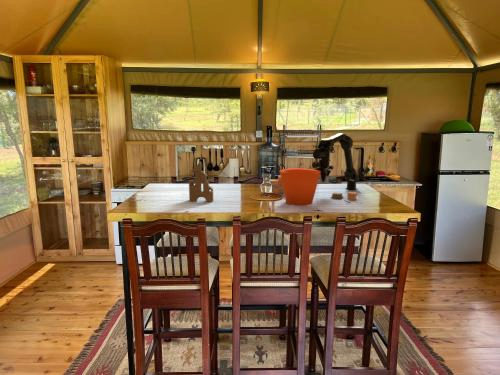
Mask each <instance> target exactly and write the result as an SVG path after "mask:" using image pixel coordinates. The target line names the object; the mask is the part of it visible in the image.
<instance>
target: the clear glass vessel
mask: <svg viewBox="0 0 500 375" xmlns="http://www.w3.org/2000/svg"><path fill="white" fill-rule="evenodd" d="M270 182H271V184H272V192H273V193H277V194H276V195H284V190H283V185H282V180H281V175H277V179H273V178H272V179H271V178H270Z"/></svg>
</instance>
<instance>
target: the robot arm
mask: <svg viewBox="0 0 500 375" xmlns="http://www.w3.org/2000/svg"><path fill="white" fill-rule="evenodd" d="M336 143H339V144H340V148H341V149H342V150H343V152H344V160H345V162H344V163H345V168H346V169H345V171H344V172H343V174H344V180H345V181H347V184H346V187H345V190H349V189H350V190H349V191H355V189H356V190H358V188H357V182H358V183H359V181H360V177H359V175H358V173H357V170H356V169H355V168H354V162H353V155H352V148H353V146H354V139H353V138H352V137H350V136H349V135H347V134H346V133H344V132H338V133H337V134H335V135H332V136H330V137H328V138H321V139H320V141H319V143H318V145H317V147H316V148H315V150H313V152H312V157H313V159H314V160H319V161H312V164H311V167H312V169H315V170H319V171H321V173H320V176H321V179H322V182H324V180H325V178H326V176H330V174H331V172H332V170H334V165H332V164H330V162H331V159H330V158H331V151H333V150H332V149H331V148H332V147H333V146H334V144H336Z"/></svg>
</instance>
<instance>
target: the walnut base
mask: <svg viewBox="0 0 500 375" xmlns="http://www.w3.org/2000/svg"><path fill="white" fill-rule="evenodd" d="M343 198H344V196H343V193H342V192H335V191H334V192H333V193H331V197H330V199H335V200H342V199H343Z"/></svg>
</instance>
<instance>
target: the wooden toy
mask: <svg viewBox="0 0 500 375" xmlns="http://www.w3.org/2000/svg"><path fill="white" fill-rule="evenodd" d="M190 172H194V174H195V175H194V178H195V181H194V180H193V179H191V180H189V181H188V192H189V193H188V197H189V201H190V203H197V202H198V200H199V198H203V199H205V201H206V203H213V202H214V189H213V187H212V186H211V185H210V182H209V181H208V180H207V174H206V172H205V171H204V170H202V161H199V162H198V163H197V164H196V165H195V166H194V167H193V168H192V169H191V171H190Z"/></svg>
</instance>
